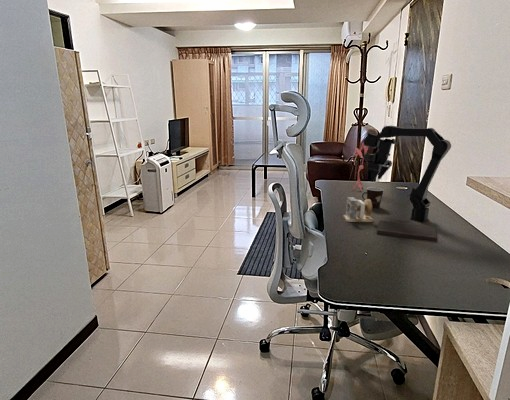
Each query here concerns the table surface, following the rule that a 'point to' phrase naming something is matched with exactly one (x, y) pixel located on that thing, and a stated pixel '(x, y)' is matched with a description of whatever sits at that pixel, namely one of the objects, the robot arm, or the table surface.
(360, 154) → the figurine
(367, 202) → the tan egg-shaped dome
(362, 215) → the spacer
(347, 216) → the base
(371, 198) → the coffee mug
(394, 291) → the table surface
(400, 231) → the hardcover book
